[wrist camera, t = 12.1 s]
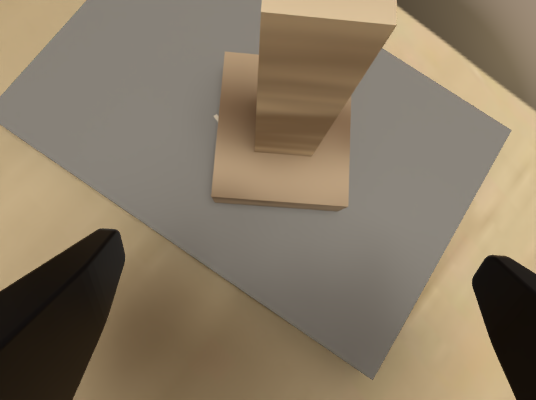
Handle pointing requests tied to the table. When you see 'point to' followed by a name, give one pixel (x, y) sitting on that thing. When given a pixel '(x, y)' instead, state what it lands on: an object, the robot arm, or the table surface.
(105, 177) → the board
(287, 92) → the wooden block tower
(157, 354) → the table surface
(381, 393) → the table surface
